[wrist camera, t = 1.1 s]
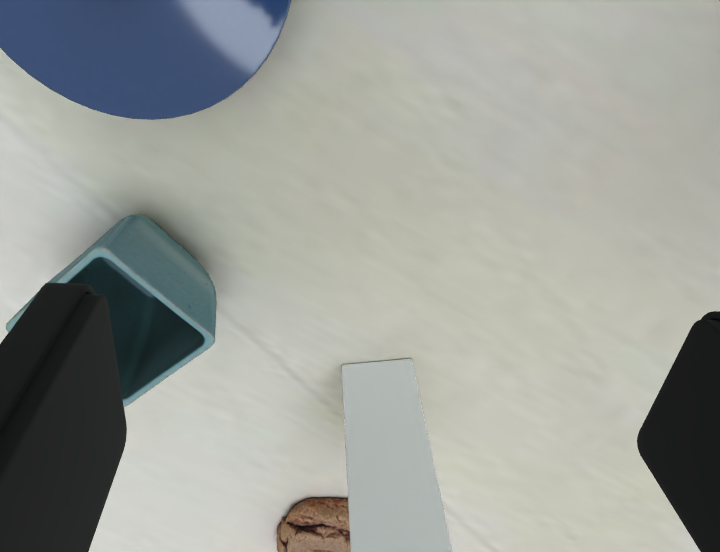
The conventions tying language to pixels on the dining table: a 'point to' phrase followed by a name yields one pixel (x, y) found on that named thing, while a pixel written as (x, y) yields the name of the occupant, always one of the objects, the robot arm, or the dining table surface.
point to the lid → (142, 50)
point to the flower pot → (146, 301)
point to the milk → (390, 462)
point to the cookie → (316, 527)
